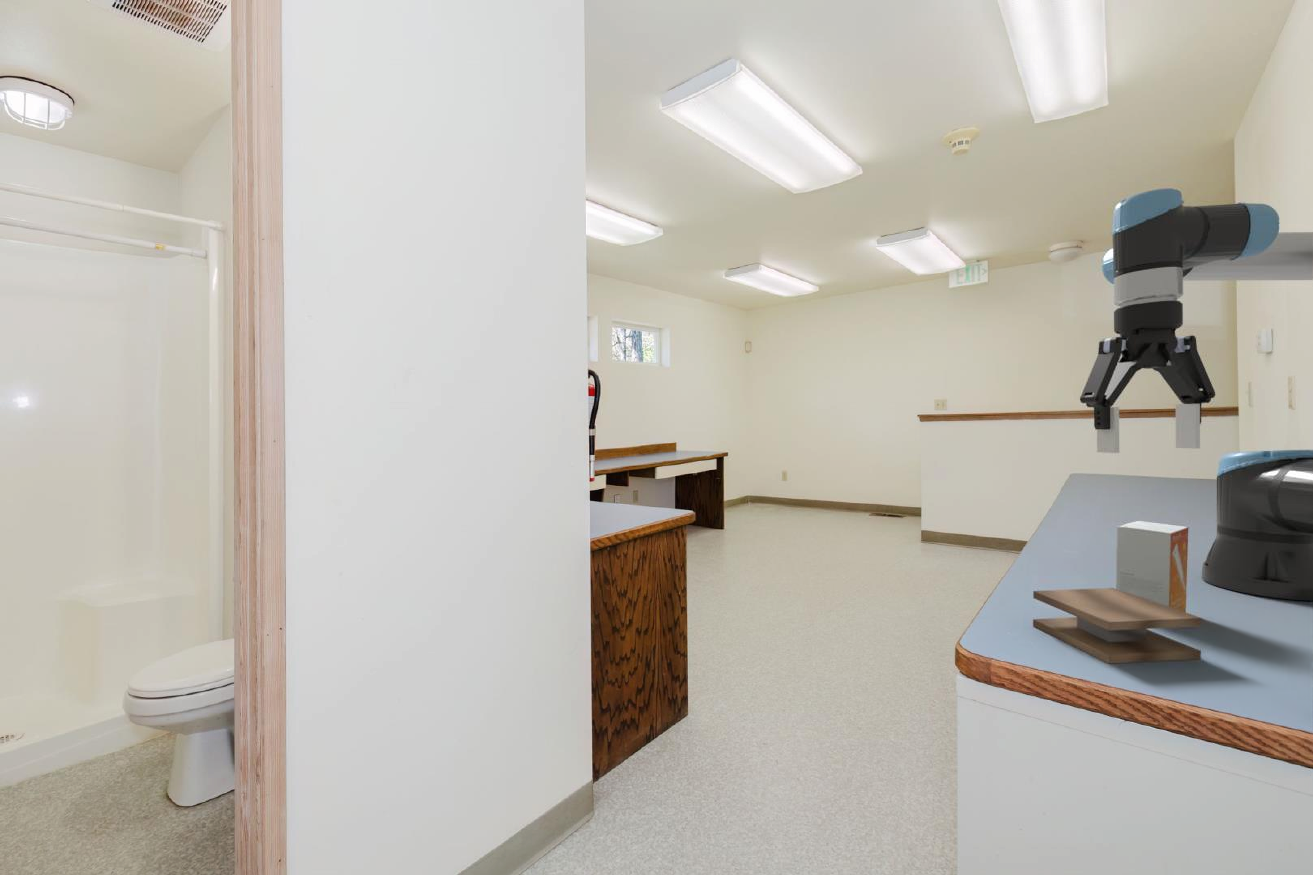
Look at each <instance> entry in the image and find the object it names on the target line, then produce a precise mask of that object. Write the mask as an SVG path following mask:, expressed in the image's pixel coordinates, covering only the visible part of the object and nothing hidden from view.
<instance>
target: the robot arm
mask: <svg viewBox="0 0 1313 875" xmlns="http://www.w3.org/2000/svg"><path fill="white" fill-rule="evenodd" d="M1184 203H1185V200H1183V194H1182V192H1181V190H1179V189H1175V188H1158V189H1153V190H1148V191H1144V192H1143V191H1142V192H1141V193H1137V194H1134V195H1131V196H1129V197H1127V198H1124V199H1123V200H1121V201H1120V202H1118V203H1117V204H1116V206H1115V208H1114V210H1113V218H1112V231H1111V236H1112V247H1111V248H1110V249H1109V250H1108V251H1107V252H1106V253H1105V254H1104V256H1103V259H1102V262H1101V263H1102V264H1101V269H1102V270H1101V271H1102V274H1103V276H1104V278H1105V279H1106V281H1107V282H1109V283H1110V284H1112V285H1113V304H1114V305H1115V306H1117V308H1115V310H1114V311H1113V332H1114V333H1115V334H1117V335H1119V336H1115V337H1109V338H1101V339H1100V340H1099V342H1098V351H1097V352H1098V353H1097V357H1096V359H1095V361H1094V363H1093V365H1092V368H1091V371H1090V374H1089V375H1088V378H1087V379H1086V380H1087V381H1086V382H1085V385H1084V388H1083V390H1082V392H1081V395H1080V398H1079V401H1080V403H1081V404H1085V405H1086V407H1087V408H1092V409H1093V421H1094V422H1093V426H1094V429H1095V430H1096V452H1097V453H1107V454H1120V407H1119V406H1114V405H1115V403H1116V401H1117V400H1118V398H1119V397H1120V395H1121V394H1122V393H1123V391H1124V389H1125V388H1126V387H1127V386H1128V384H1129V383H1130V381H1131V380H1132V378H1133V377H1134V376H1135V374H1136V373H1137V372H1138V371H1140V370H1142V369H1146V370H1148V369H1151V370H1153V371H1155V372H1158V373H1159V374H1160V375H1161V377H1162V378H1163V380H1164V382H1166V383H1167V385H1168V387H1169V388H1170V389H1171V390H1172V392H1173V393H1174V394H1175V396H1176V397H1177V398H1178V400H1179V401H1180V402H1181V403H1179V404H1178V403H1176V404H1175V448H1177V449H1193V450H1194V449H1201V424H1202V404H1209V403H1210V402H1211V400H1212V399H1214V398H1215V396H1216V392H1215V389H1214V386H1213V385H1212V381H1211V379H1210V378H1209V375H1208V372H1207V370H1206V367H1205V365H1204V363H1203V361H1202V358H1201V356H1200V354H1199V351H1198V347H1197V338H1196V336H1195V335H1185V336H1178V337H1177V336H1176V330H1177V329H1180V328H1181V327H1182V326H1183V325H1184V322H1183V321H1184V314H1183V313H1184V310H1183V308H1184V307H1183V305H1184V304H1183V303H1182V302H1181V301H1180V300H1178V299H1180V298H1182V297H1183V295H1184V282H1185V281H1186V282H1187V281H1188V282H1189V281H1193V282H1195V281H1201V282H1202V281H1206V282H1207V281H1313V231H1306V232H1305V231H1300V232H1298V231H1290V232H1289V231H1288V232H1287V231H1286V232H1284V231H1283V232H1281V231H1279V230H1280V216H1279V213H1278V211H1277V210H1276V209H1275V208H1274V207H1272V206H1271V205H1269V204H1265V203H1250V202H1249V203H1248V202H1247V203H1246V202H1238V203H1229V204H1212V205H1198V206H1197V205H1196V206H1194V205H1193V206H1191V205H1184ZM1215 477H1216V536H1215V540H1214V542H1213V543H1212V545H1211V548H1210V550H1209V551H1208V553H1207V556H1206V559H1205V561H1204V562H1203V563H1202V566H1201V579H1202V580H1203V581H1204V582H1206V583H1209V584H1210V585H1213V586H1217V587H1220V588H1224V589H1227V590H1231V591H1236V592H1240V593H1244V594H1250V595H1255V596H1256V595H1257V596H1261V597H1269V598H1277V599H1284V600H1294V601H1295V600H1296V601H1313V449H1279V450H1278V449H1277V450H1258V451H1257V450H1254V451H1238V452H1229V453H1226V454H1224V455H1223V456H1221V457H1220V459H1219V462H1218V469H1217V474H1216V476H1215Z"/></svg>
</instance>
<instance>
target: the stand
mask: <svg viewBox="0 0 1313 875" xmlns="http://www.w3.org/2000/svg"><path fill="white" fill-rule="evenodd" d="M1032 596H1033V597H1032V598H1033V599H1035V600H1037V601H1039V602H1041V603H1044V604H1046V605H1049V606H1051V607H1053V608H1056V609H1057V610H1060V611H1063V612H1065V613H1068V615H1069V614H1070V615H1072V617H1054V618H1053V617H1051V618H1035V619H1034V618H1033V619H1032V627H1034V628H1036V629H1038V630H1039V631H1042V632H1044V633H1046V634H1048V635H1050V636H1052V637H1054V638H1056V639H1057V640H1060V641H1062V642H1064V643H1066V644H1068V645H1070V646H1072V647H1074V648H1077V649H1079V651H1083V652H1084V653H1087V654H1089V655H1091V656H1092V657H1094V658H1096V659H1098V660H1100V661H1103V662H1105V663H1107V664H1121V663H1144V662H1146V663H1147V662H1161V661H1164V662H1165V661H1179V660H1180V661H1184V660H1185V661H1186V660H1201V658H1202V650H1200V649H1198V648H1196V647H1193V646H1190V645H1188V644H1185V643H1183V642H1180V641H1178V640H1176V639H1172V638H1170V637H1168V636H1166V635H1163V634H1161V633H1157V632H1155V631H1152V630H1150V629H1169V628H1189V627H1202V623H1203V621H1202V619H1203V618H1202V617H1200V616H1197V615H1195V614H1191V613H1188V612H1183V611H1180V610H1177V609H1174V608H1171V607H1168V606H1165V605H1162V604H1159V603H1156V602H1153V601H1150V600H1147V599H1144V598H1141V597H1139V596H1136V595H1133V594H1130V593H1127V592H1124V591H1121V590H1118V589H1116V587H1115V588H1114V587H1106V588H1105V587H1103V588H1102V587H1101V588H1098V587H1097V588H1078V589H1076V588H1075V589H1072V588H1071V589H1055V590H1054V589H1053V590H1051V589H1050V590H1048V589H1047V590H1033V595H1032ZM1073 616H1074V617H1073Z"/></svg>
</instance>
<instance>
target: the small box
mask: <svg viewBox="0 0 1313 875" xmlns="http://www.w3.org/2000/svg"><path fill="white" fill-rule="evenodd" d="M1116 528H1117V530H1116V532H1117V533H1116V559H1115V560H1116V562H1115V563H1116V572H1115V574H1116V575H1115V589H1118V590H1121V591H1124V592H1127V593H1130V594H1133V595H1136V596H1139V597H1141V598H1144V599H1147V600H1150V601H1153V602H1156V603H1159V604H1162V605H1165V606H1168V607H1171V608H1174V609H1177V610H1180V611H1183V612H1186V611H1187V583H1188V582H1187V581H1188V577H1187V576H1188V555H1189V554H1188V552H1189V551H1188V549H1189V527H1188V526H1183V525H1182V526H1181V525H1175V524H1173V525H1172V524H1166V523H1159V522H1150V521H1143V520H1142V521H1141V520H1136V521H1133V522H1132V521H1131V522H1128V523H1125V524H1122V525H1118V526H1117V527H1116ZM1186 613H1187V612H1186Z"/></svg>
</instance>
